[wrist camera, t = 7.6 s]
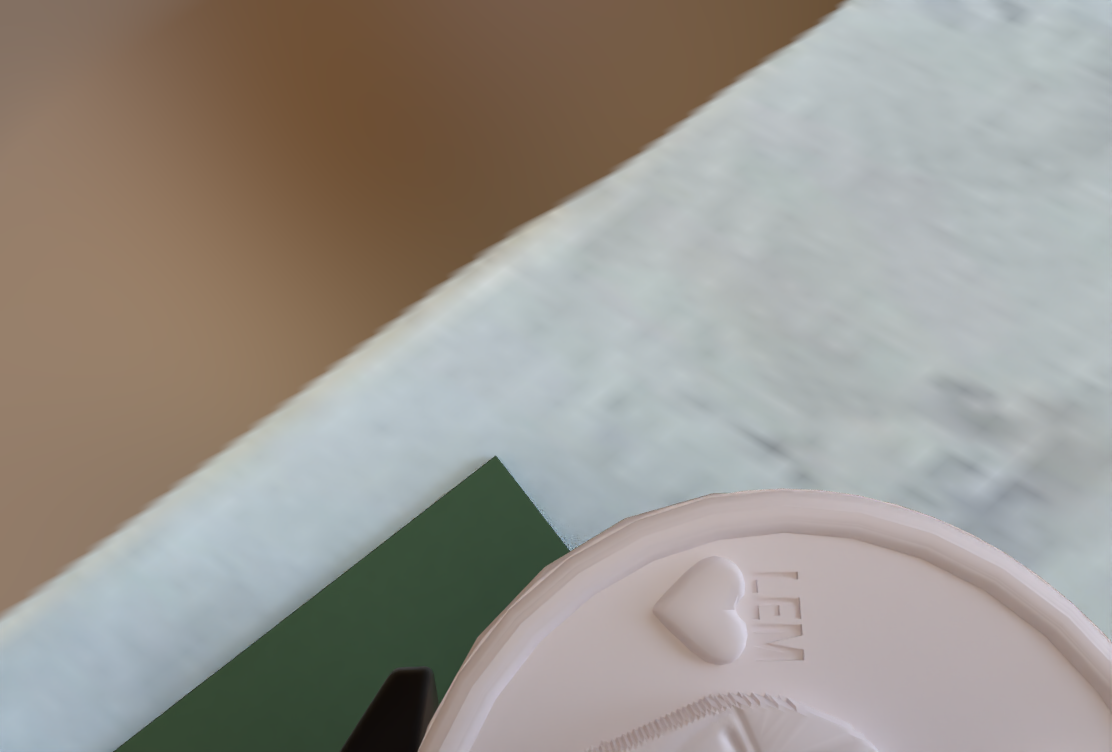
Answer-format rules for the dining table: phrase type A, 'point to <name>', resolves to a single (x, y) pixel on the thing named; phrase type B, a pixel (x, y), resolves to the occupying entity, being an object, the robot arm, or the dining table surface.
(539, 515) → the cloth
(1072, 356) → the dining table surface
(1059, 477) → the dining table surface
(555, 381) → the dining table surface
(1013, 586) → the smoothie
